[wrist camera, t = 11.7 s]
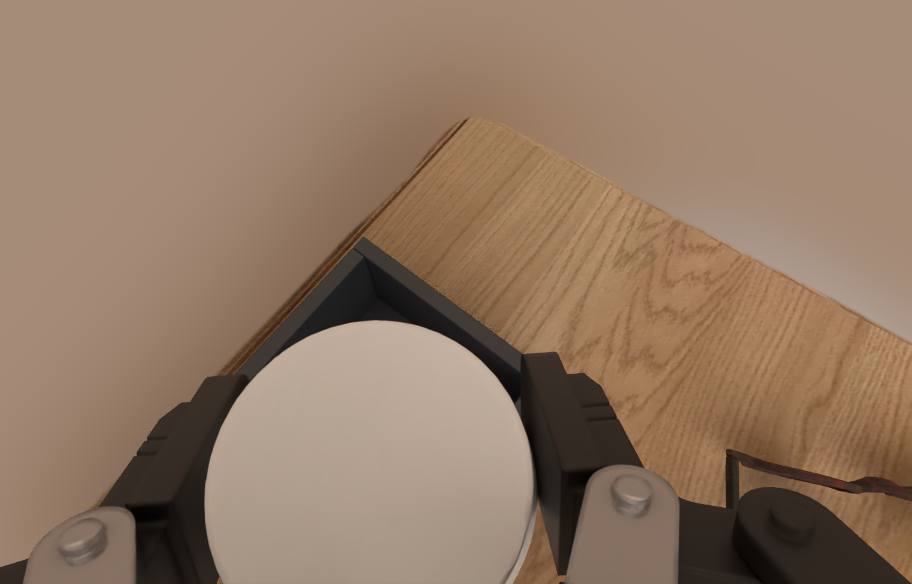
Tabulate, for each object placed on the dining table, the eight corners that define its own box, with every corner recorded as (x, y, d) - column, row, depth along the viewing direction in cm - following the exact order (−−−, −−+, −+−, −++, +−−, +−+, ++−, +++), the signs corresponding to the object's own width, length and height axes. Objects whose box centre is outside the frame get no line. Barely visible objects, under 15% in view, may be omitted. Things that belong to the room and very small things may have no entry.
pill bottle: (509, 600, 16) (590, 729, 7) (311, 602, 16) (118, 735, 7) (502, 400, 18) (556, 288, 9) (327, 401, 18) (195, 290, 9)
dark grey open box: (403, 583, 28) (390, 607, 22) (242, 439, 31) (187, 423, 24) (534, 402, 32) (555, 377, 25) (379, 285, 34) (363, 235, 28)
